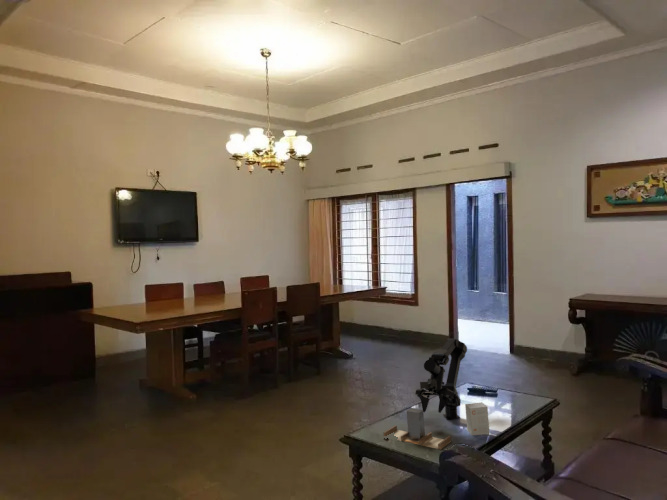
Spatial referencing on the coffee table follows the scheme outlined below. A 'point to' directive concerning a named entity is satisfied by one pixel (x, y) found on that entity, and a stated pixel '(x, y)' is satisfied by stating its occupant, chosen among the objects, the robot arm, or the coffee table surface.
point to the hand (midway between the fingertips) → (431, 412)
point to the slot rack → (424, 441)
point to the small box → (477, 418)
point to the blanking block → (415, 424)
